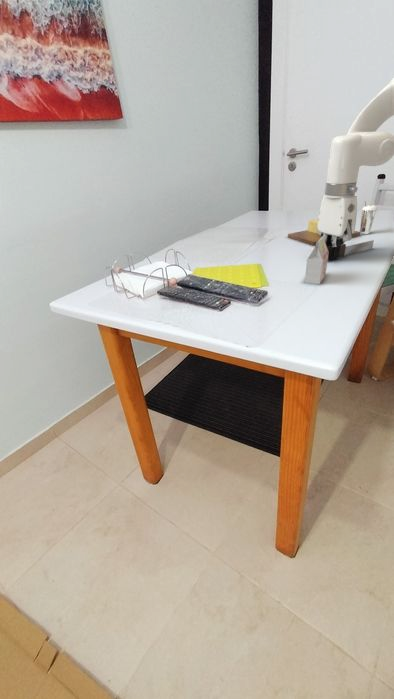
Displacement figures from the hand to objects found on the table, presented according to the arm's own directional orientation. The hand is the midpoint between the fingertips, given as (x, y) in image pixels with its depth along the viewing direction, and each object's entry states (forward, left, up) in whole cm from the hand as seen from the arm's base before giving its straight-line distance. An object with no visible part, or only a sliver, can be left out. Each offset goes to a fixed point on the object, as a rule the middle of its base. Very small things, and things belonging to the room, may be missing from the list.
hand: (330, 258), depth 99 cm
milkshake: (-29, -15, 0) cm, 33 cm away
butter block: (-15, -23, +1) cm, 28 cm away
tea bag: (+14, +10, 0) cm, 17 cm away
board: (-15, -20, 0) cm, 25 cm away
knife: (-6, 0, 0) cm, 6 cm away
